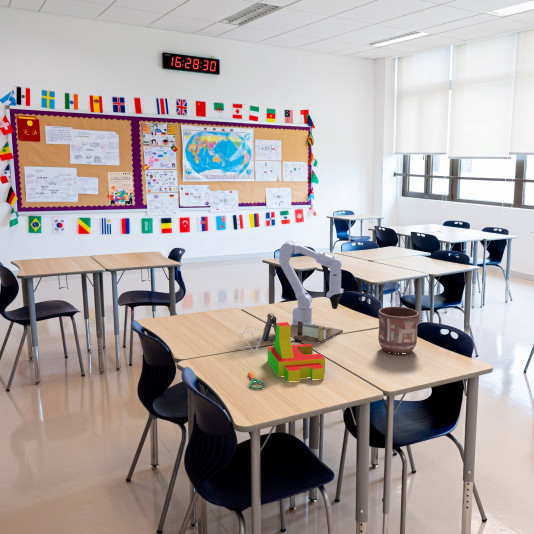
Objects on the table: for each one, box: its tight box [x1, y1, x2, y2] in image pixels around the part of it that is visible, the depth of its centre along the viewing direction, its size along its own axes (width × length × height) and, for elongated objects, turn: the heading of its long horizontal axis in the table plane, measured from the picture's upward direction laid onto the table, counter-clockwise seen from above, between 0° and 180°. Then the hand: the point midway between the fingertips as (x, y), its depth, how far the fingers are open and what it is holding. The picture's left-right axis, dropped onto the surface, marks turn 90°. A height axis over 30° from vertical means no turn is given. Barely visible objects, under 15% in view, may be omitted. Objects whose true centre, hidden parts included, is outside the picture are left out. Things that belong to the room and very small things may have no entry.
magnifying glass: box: [247, 371, 266, 390], centre depth 216 cm, size 15×6×2 cm, turn 14°
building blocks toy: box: [267, 321, 326, 383], centre depth 227 cm, size 19×25×18 cm
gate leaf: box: [302, 323, 327, 339], centre depth 268 cm, size 12×2×5 cm, turn 55°
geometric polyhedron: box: [236, 325, 264, 354], centre depth 254 cm, size 12×11×9 cm
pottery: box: [377, 306, 420, 354], centre depth 251 cm, size 18×18×18 cm
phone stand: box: [260, 312, 277, 343], centre depth 268 cm, size 9×6×12 cm, turn 103°
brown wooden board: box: [292, 321, 344, 344], centre depth 275 cm, size 15×22×8 cm
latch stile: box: [318, 325, 323, 341], centre depth 264 cm, size 2×1×6 cm
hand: (334, 308), depth 288 cm, fingers closed
